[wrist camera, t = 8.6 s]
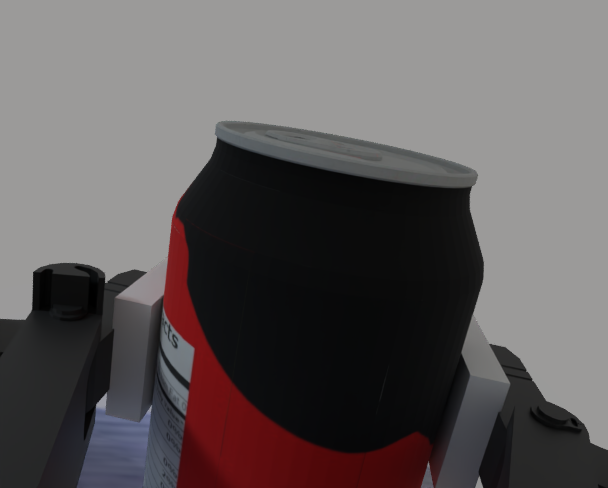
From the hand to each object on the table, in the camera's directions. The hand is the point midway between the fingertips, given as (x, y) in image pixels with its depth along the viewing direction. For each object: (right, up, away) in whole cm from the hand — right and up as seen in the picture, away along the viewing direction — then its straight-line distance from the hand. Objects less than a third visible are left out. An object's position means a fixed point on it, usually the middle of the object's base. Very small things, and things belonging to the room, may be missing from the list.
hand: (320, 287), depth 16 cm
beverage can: (-2, -8, -3) cm, 9 cm away
